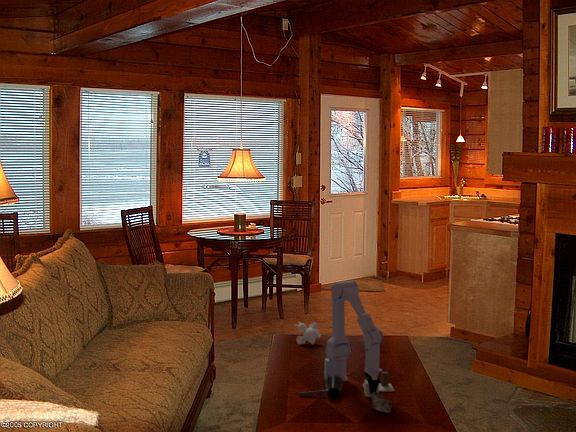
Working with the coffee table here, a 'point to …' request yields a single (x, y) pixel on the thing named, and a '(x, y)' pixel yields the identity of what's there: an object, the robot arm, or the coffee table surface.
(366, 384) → the beige block
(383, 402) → the mineral rock
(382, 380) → the walnut post
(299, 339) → the character figurine
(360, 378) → the coffee table surface
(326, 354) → the robot arm
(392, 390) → the grey board
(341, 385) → the coffee pot
